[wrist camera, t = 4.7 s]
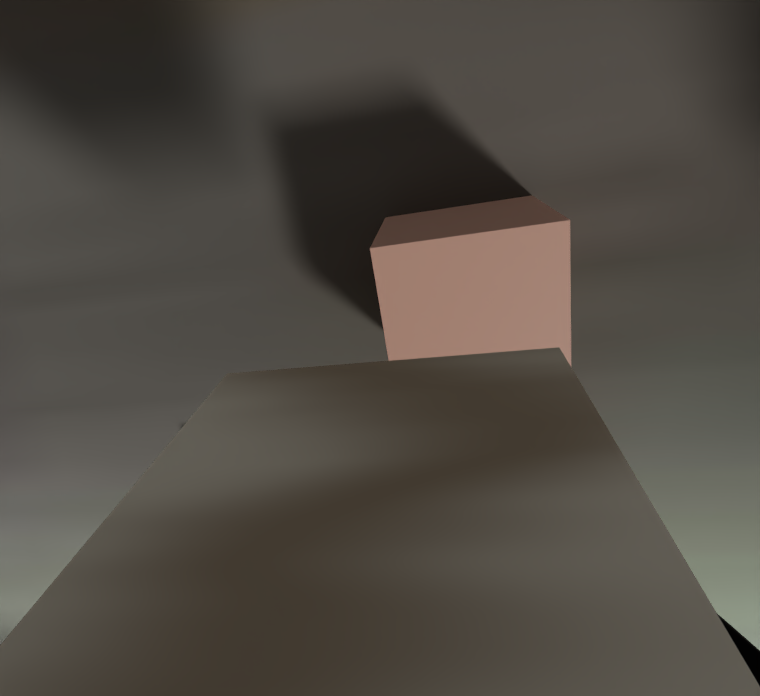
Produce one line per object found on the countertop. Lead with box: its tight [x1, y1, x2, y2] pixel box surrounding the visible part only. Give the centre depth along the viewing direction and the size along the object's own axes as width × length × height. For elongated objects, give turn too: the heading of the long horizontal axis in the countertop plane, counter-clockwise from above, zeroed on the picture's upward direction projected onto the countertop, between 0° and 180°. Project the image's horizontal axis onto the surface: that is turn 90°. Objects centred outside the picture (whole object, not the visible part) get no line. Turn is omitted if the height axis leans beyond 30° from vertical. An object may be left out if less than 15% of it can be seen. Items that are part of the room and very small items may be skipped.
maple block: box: [0, 347, 760, 696], centre depth 6 cm, size 5×5×5 cm
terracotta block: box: [370, 195, 571, 366], centre depth 16 cm, size 5×5×5 cm
